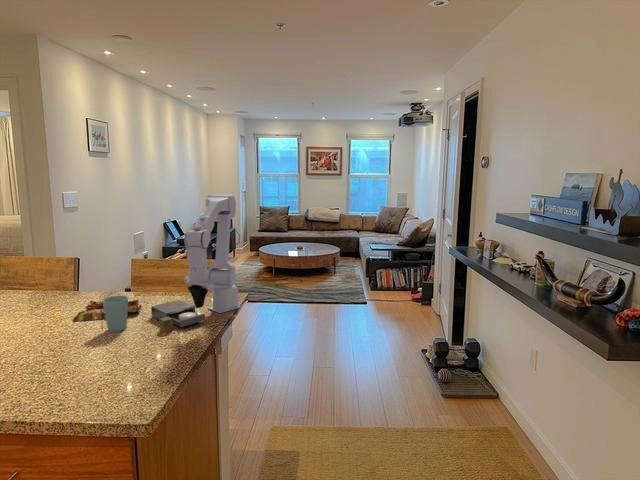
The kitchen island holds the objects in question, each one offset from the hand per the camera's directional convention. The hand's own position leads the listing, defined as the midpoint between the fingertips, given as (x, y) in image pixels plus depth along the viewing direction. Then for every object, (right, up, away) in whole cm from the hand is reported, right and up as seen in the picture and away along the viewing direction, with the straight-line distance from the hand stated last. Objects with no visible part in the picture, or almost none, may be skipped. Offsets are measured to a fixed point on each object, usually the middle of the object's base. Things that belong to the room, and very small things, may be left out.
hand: (199, 307), depth 134 cm
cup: (-28, -8, +1) cm, 29 cm away
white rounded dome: (-6, -5, +6) cm, 10 cm away
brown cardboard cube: (-11, -8, 0) cm, 13 cm away
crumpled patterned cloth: (-38, -6, +18) cm, 43 cm away
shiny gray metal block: (-13, -6, +13) cm, 19 cm away
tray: (-7, -6, +7) cm, 11 cm away
